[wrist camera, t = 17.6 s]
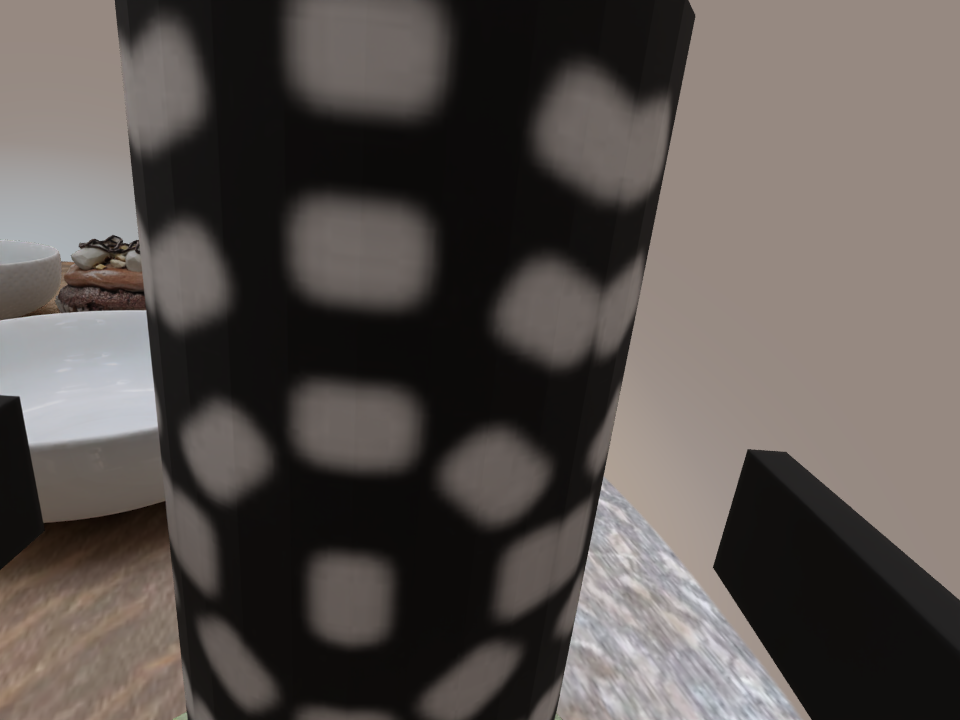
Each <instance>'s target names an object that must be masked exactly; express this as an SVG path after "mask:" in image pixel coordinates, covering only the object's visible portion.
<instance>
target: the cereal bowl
mask: <svg viewBox="0 0 960 720" xmlns="http://www.w3.org/2000/svg"><path fill="white" fill-rule="evenodd" d="M61 272H62V270H61V258H60V254H59V251H58V250H57V249H55V248H53V247H51V246H47V245H43V244H37V243H30V242H22V241H12V240H0V320H6V319H14V318H18V317H20V316H23V315H26V314H29V313H31V312H33V311H36V310H37V309H39V308H41V307H42V306H44V305H46V304H47V303H48V302H49V301H50V300H51V299H52V298H53V297H54V295H55V294H56V292H57V291H58V289H59V287H60V283H61Z"/></svg>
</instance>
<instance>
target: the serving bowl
mask: <svg viewBox="0 0 960 720" xmlns="http://www.w3.org/2000/svg"><path fill="white" fill-rule="evenodd" d="M0 395H6V396H20V401H21V406H22V412H23V417H24V422H25V428H26V433H27V438H28V443H29V449H30V454H31V459H32V465H33V470H34V475H35V481H36V486H37V491H38V497H39V502H40V507H41V513H42V518H43V523H48V522H60V521H71V520H80V519H87V518H94V517H100V516H106V515H111V514H116V513H121V512H126V511H130V510H134V509H138V508H142V507H146V506H149V505H153V504H156V503H160V502H163V501H165V491H164V481H163V471H162V461H161V452H160V442H159V432H158V422H157V412H156V402H155V392H154V382H153V373H152V363H151V353H150V343H149V333H148V323H147V313H146V310H119V311H88V312H71V313H58V314H47V315H36V316H29V317H21V318H14V319H6V320H0Z"/></svg>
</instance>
